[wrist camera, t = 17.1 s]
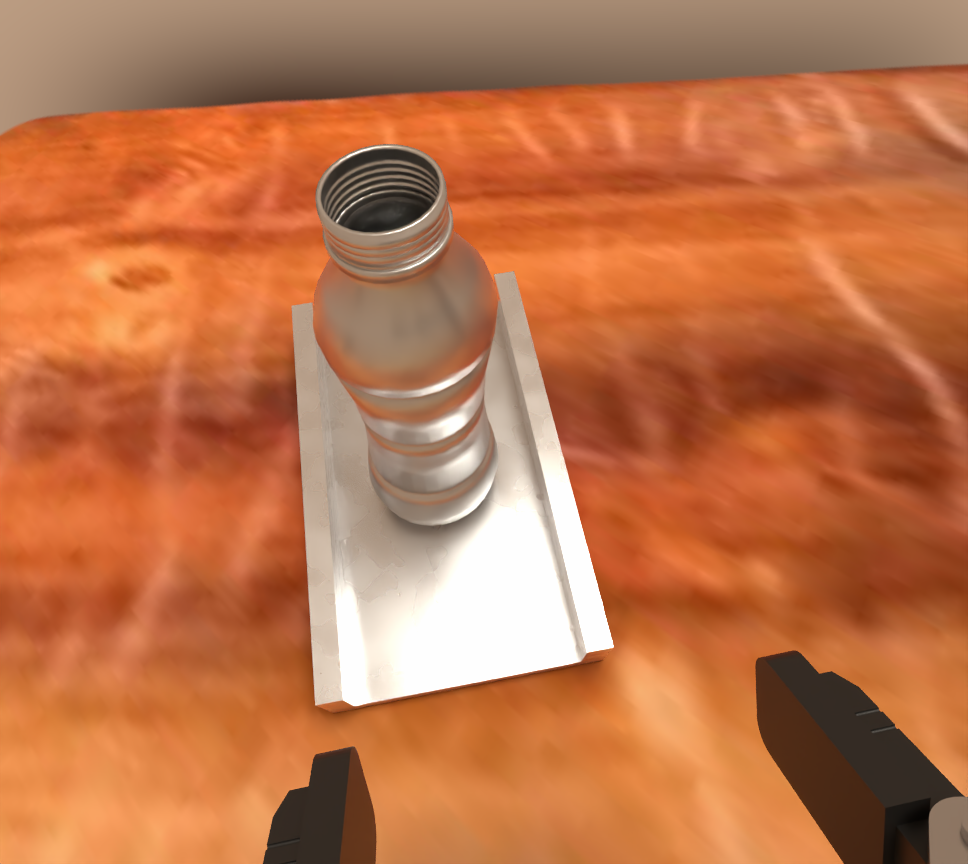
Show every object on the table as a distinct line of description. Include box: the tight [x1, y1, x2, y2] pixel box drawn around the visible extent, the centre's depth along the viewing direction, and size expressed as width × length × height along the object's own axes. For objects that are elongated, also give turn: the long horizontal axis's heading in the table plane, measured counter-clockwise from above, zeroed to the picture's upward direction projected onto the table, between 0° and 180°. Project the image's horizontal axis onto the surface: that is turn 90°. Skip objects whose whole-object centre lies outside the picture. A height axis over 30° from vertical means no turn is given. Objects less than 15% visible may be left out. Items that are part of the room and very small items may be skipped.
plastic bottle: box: [313, 144, 498, 526], centre depth 27 cm, size 6×7×20 cm
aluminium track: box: [292, 271, 613, 713], centre depth 36 cm, size 22×13×4 cm, turn 10°
